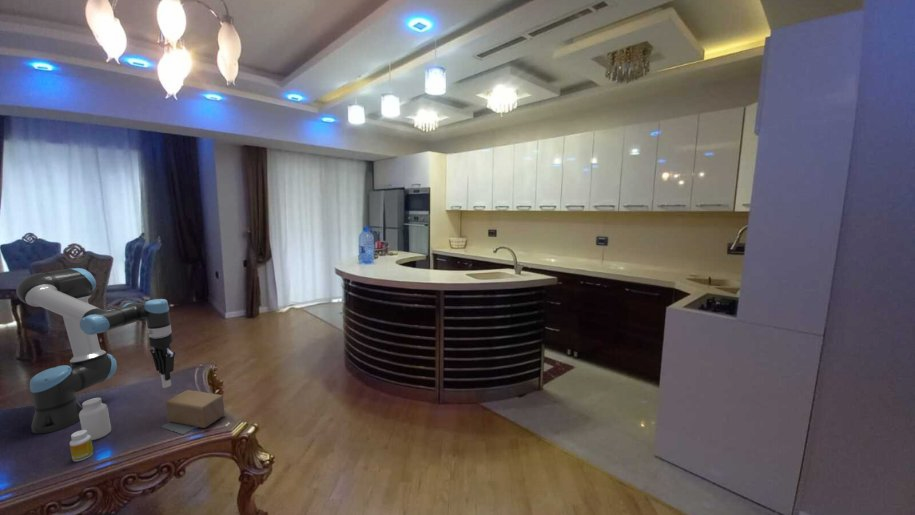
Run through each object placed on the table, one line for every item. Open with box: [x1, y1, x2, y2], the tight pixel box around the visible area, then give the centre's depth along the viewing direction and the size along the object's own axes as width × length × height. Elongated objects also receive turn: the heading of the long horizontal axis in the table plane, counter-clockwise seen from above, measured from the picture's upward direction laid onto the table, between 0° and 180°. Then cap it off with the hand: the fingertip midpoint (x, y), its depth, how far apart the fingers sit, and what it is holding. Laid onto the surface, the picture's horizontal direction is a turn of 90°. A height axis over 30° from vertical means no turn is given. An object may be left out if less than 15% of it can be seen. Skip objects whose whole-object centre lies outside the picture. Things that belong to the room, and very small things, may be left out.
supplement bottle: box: [69, 429, 94, 462], centre depth 128 cm, size 5×5×10 cm
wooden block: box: [165, 389, 225, 429], centre depth 150 cm, size 10×10×20 cm
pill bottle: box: [79, 397, 112, 441], centre depth 140 cm, size 8×8×15 cm
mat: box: [160, 421, 198, 436], centre depth 150 cm, size 14×14×1 cm
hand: (166, 386), depth 152 cm, fingers closed
